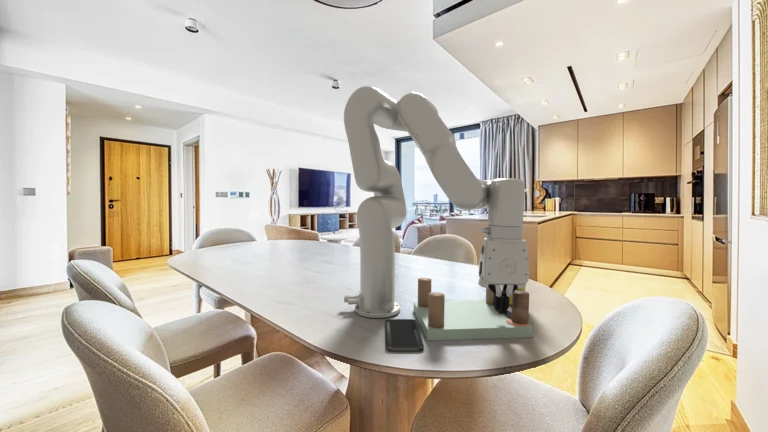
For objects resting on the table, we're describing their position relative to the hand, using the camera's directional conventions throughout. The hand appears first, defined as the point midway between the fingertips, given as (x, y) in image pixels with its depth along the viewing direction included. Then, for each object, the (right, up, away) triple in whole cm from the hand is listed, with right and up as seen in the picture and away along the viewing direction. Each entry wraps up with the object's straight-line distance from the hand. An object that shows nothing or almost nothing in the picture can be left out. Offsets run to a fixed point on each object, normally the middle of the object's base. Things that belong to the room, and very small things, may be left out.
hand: (500, 311), depth 71 cm
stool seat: (-6, -5, +6) cm, 10 cm away
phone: (-23, -6, -1) cm, 23 cm away
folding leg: (+4, -2, +4) cm, 6 cm away
